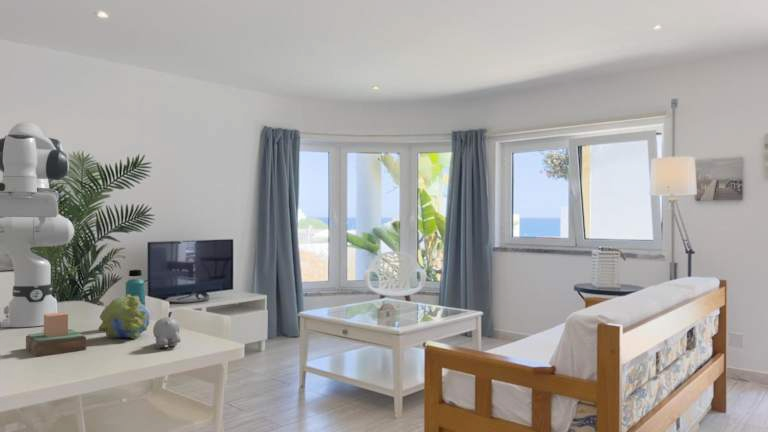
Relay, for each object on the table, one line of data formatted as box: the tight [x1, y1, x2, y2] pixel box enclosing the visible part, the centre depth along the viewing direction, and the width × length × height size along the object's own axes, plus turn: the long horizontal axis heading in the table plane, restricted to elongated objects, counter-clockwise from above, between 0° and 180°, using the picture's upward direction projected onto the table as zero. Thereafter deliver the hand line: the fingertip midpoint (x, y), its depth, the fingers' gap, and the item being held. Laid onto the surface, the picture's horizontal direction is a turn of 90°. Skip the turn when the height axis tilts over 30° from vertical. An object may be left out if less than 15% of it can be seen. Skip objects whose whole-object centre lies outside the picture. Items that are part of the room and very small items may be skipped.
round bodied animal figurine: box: [152, 316, 182, 349], centre depth 160 cm, size 7×12×8 cm, turn 35°
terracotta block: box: [43, 311, 69, 338], centre depth 157 cm, size 5×5×6 cm
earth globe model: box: [98, 294, 151, 340], centre depth 172 cm, size 14×16×15 cm
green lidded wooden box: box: [25, 328, 87, 357], centre depth 157 cm, size 14×12×4 cm
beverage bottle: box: [125, 269, 146, 306], centre depth 191 cm, size 6×7×20 cm
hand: (19, 232), depth 166 cm, fingers open, 8 cm apart
